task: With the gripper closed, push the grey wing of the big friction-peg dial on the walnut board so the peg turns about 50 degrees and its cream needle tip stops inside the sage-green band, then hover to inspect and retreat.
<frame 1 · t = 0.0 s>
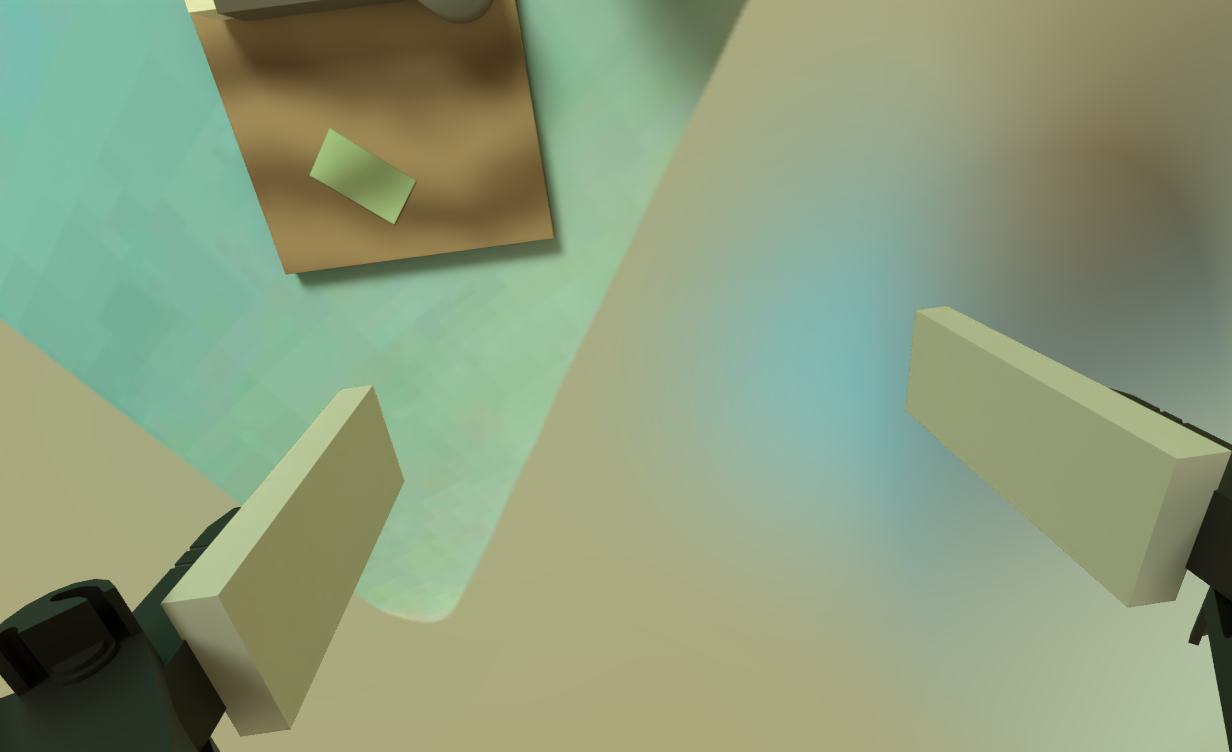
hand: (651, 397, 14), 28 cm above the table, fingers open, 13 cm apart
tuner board: (377, 73, 35), on the table
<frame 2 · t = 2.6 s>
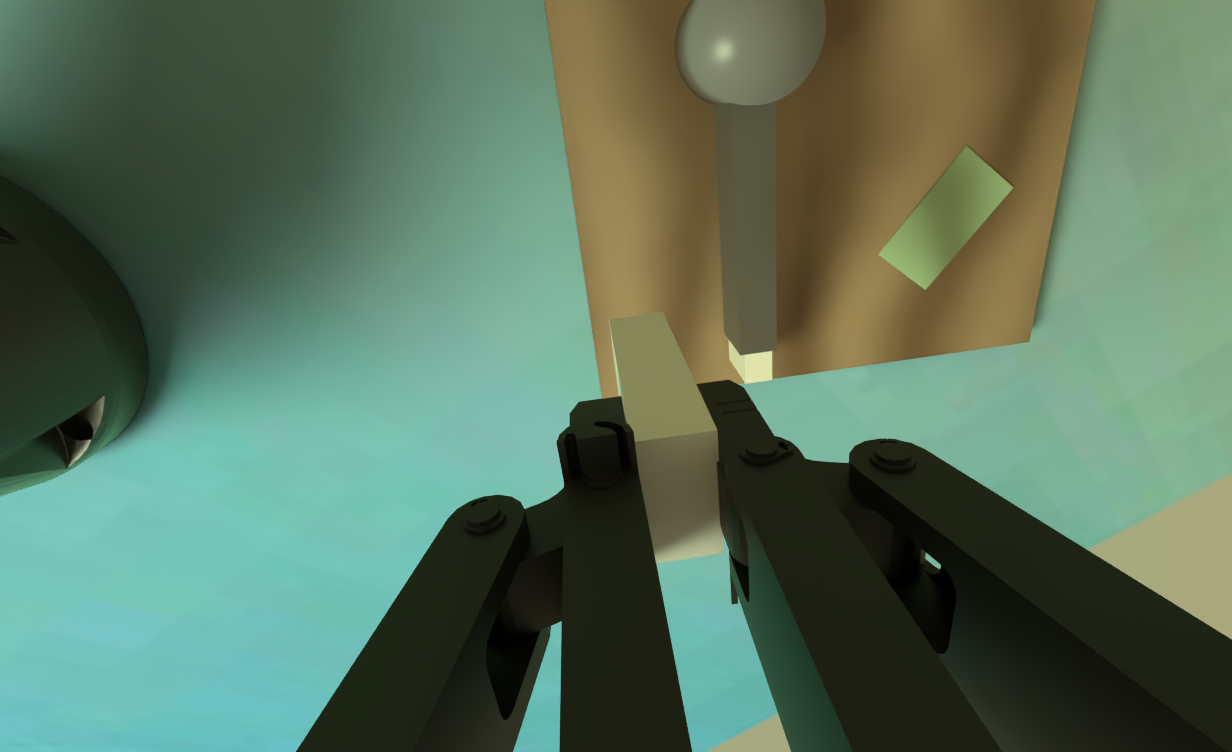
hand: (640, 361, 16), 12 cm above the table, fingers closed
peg: (747, 197, 23), point 3 cm above the table, hinge at 0.0°
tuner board: (812, 185, 27), on the table
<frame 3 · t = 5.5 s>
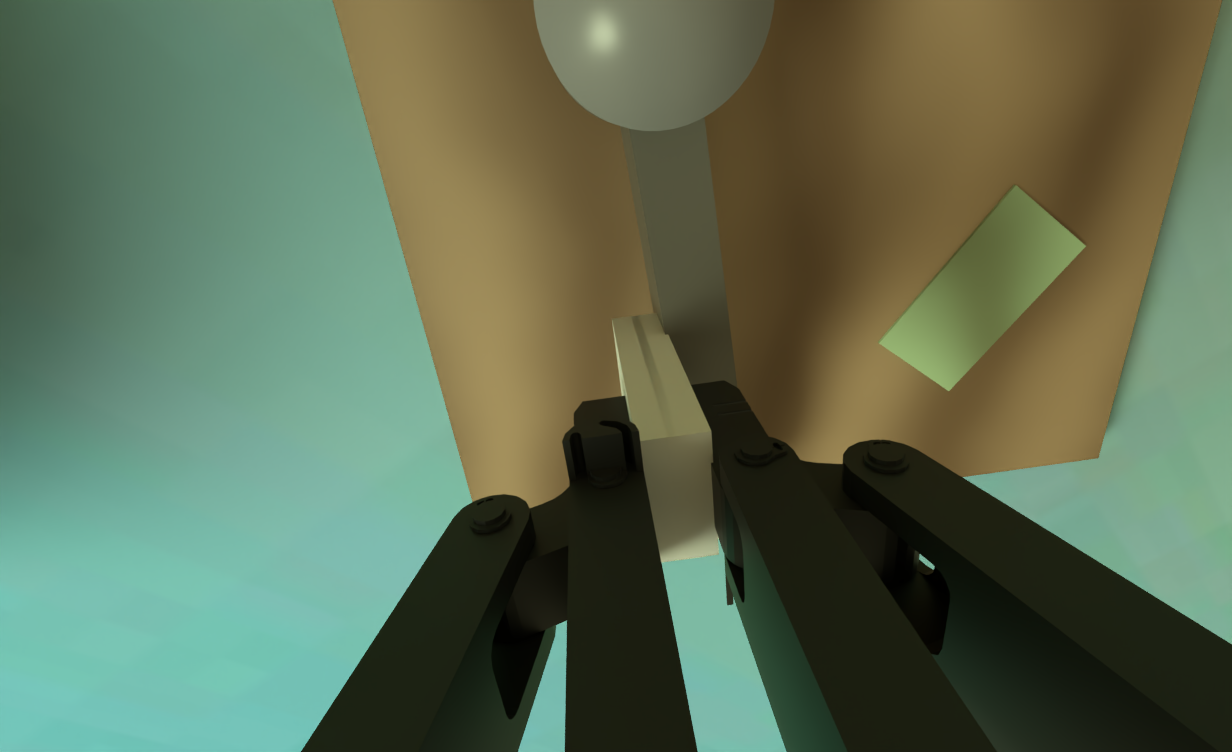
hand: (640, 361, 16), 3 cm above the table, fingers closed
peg: (682, 269, 15), point 3 cm above the table, hinge at 4.3°, touching gripper
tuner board: (780, 240, 18), on the table
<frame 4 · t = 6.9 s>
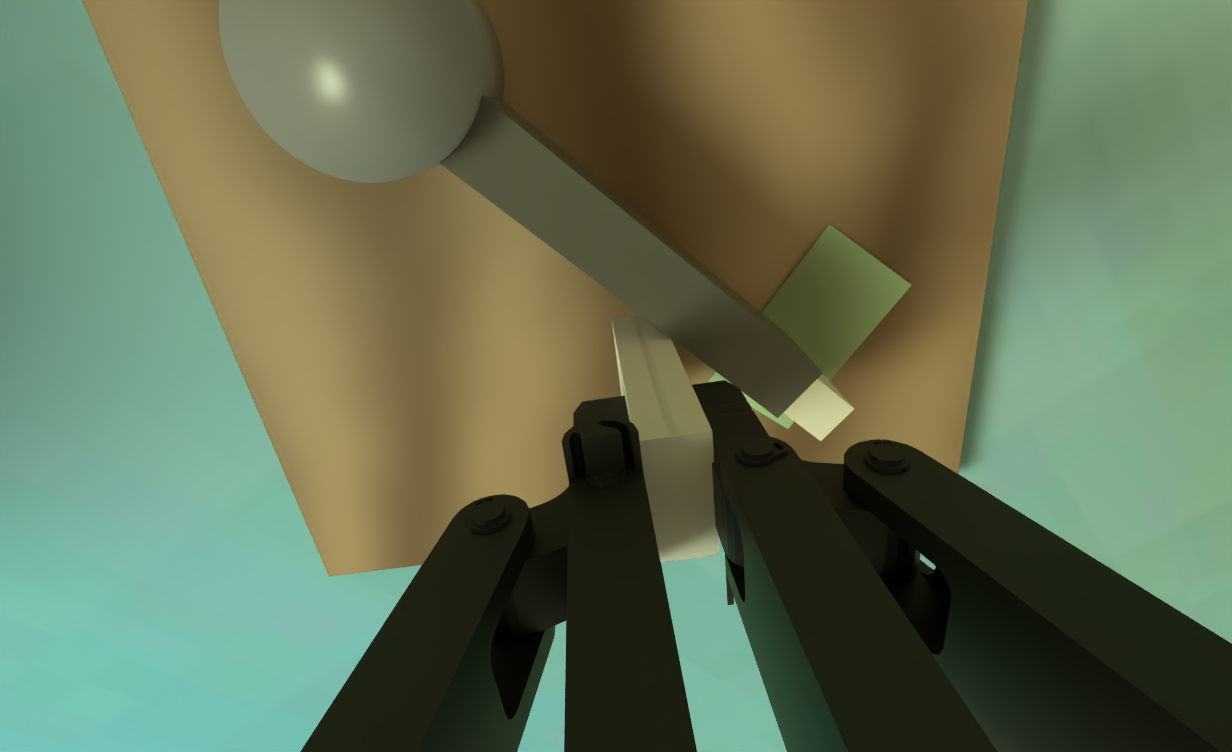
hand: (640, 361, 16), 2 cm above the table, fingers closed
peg: (597, 229, 14), point 3 cm above the table, hinge at 44.7°, touching gripper
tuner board: (606, 276, 18), on the table
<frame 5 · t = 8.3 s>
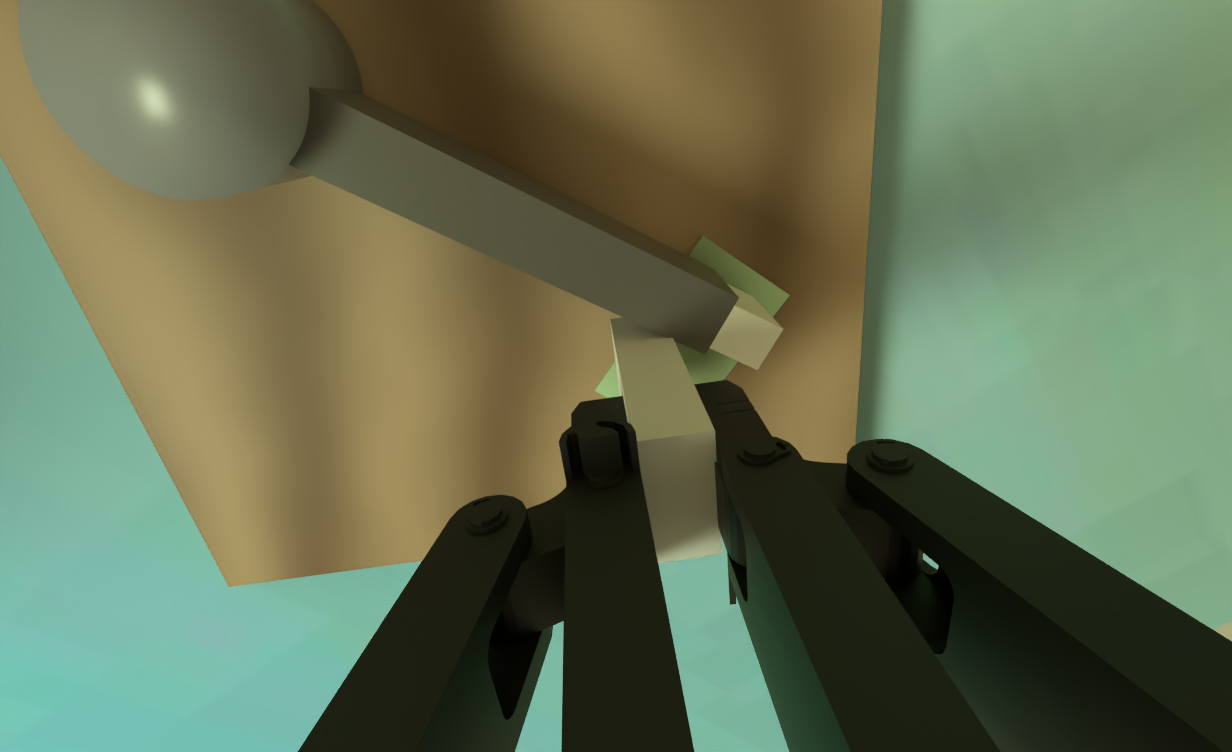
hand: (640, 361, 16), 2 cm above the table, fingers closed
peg: (475, 199, 13), point 3 cm above the table, hinge at 56.7°, touching gripper
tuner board: (492, 286, 18), on the table
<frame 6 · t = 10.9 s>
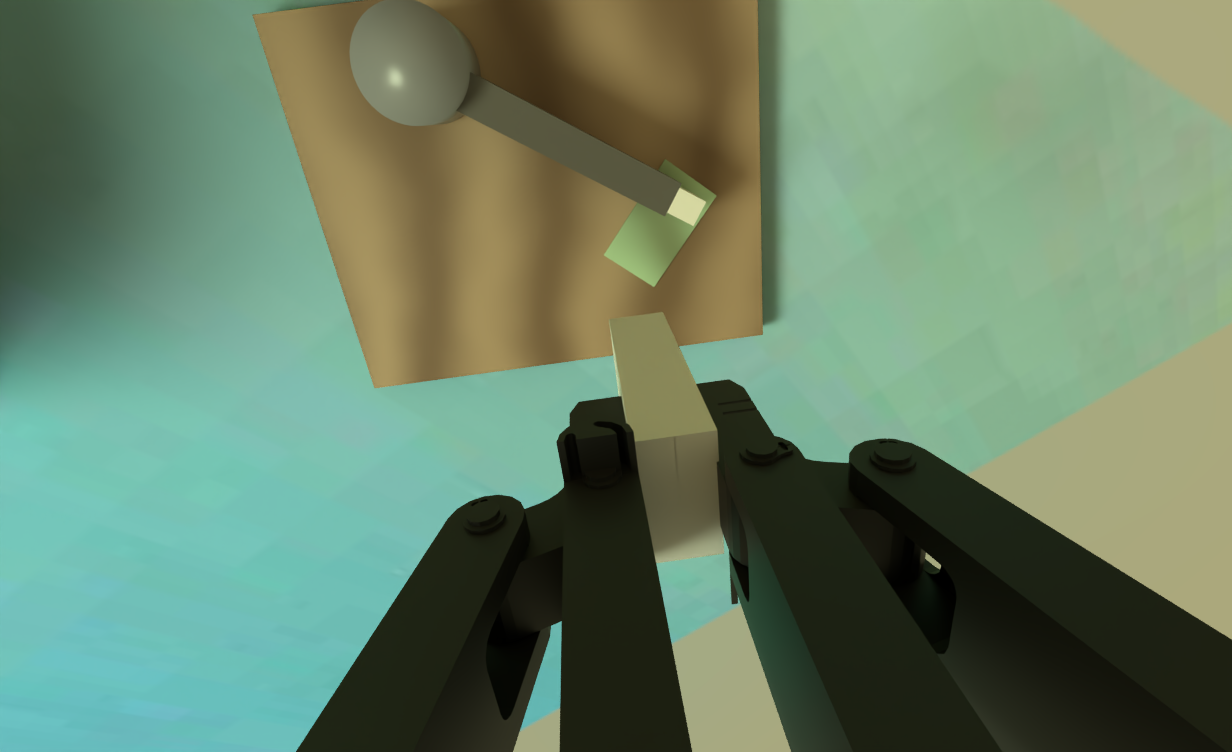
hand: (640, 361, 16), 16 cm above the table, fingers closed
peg: (543, 132, 26), point 3 cm above the table, hinge at 56.8°
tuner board: (543, 193, 30), on the table
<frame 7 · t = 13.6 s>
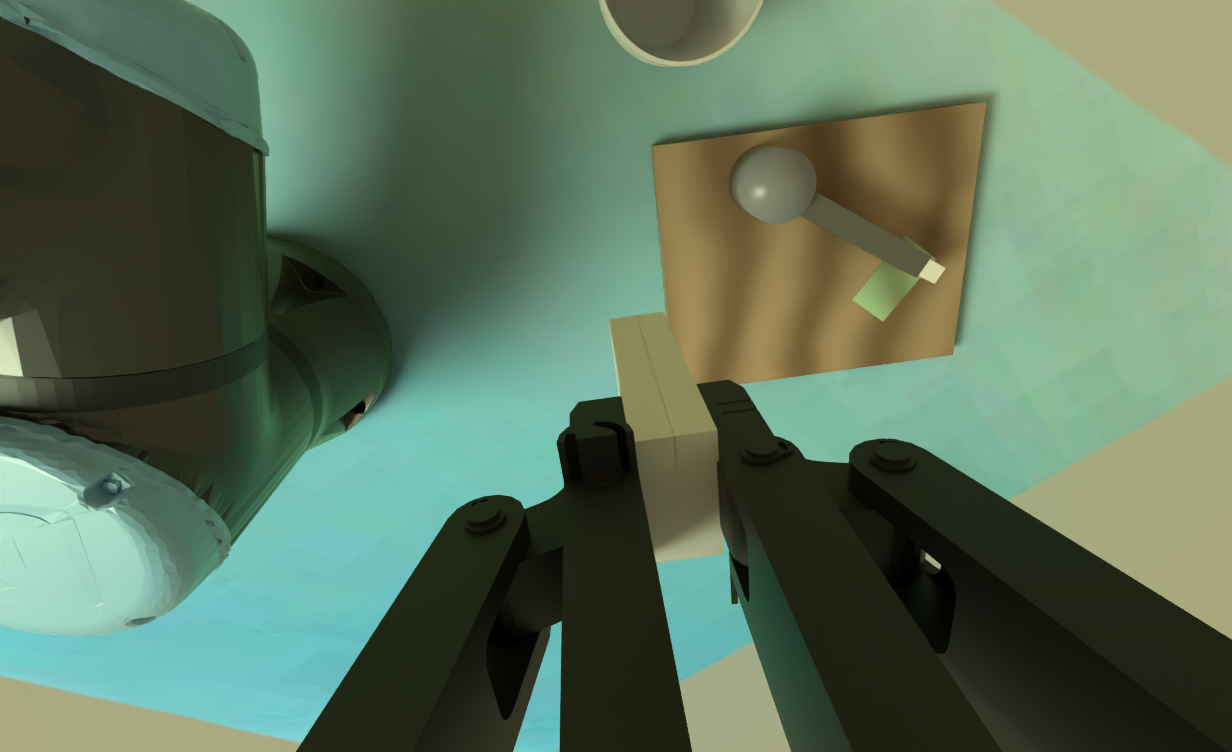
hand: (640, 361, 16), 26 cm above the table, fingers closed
cup: (654, 4, 36), on the table
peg: (840, 222, 38), point 3 cm above the table, hinge at 56.8°
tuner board: (811, 256, 43), on the table
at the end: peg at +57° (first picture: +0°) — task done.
